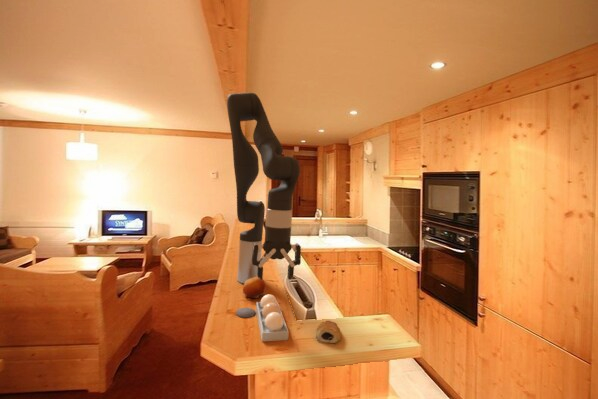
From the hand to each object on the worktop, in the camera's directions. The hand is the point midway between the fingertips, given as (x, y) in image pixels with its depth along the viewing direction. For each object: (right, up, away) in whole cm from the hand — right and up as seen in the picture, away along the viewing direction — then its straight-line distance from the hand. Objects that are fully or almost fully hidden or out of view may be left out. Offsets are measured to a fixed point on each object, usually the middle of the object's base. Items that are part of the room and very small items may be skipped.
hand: (275, 278), depth 85 cm
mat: (-10, -12, +6) cm, 17 cm away
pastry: (+15, -15, -5) cm, 22 cm away
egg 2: (0, -10, -6) cm, 12 cm away
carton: (-1, -13, 0) cm, 13 cm away
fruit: (-10, -12, +20) cm, 25 cm away
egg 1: (-3, -10, +6) cm, 12 cm away
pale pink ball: (-1, -10, 0) cm, 10 cm away
